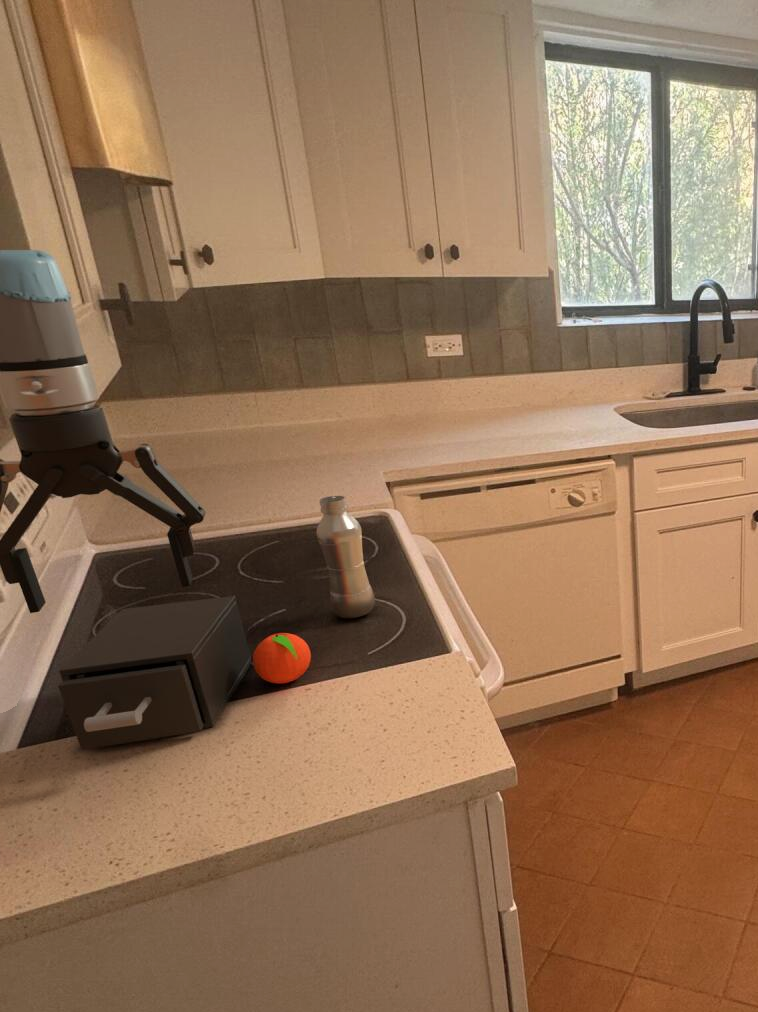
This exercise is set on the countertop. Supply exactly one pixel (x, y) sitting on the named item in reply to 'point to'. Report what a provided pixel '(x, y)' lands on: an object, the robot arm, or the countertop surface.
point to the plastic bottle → (344, 559)
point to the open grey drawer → (132, 704)
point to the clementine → (281, 658)
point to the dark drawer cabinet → (175, 647)
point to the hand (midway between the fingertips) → (115, 595)
